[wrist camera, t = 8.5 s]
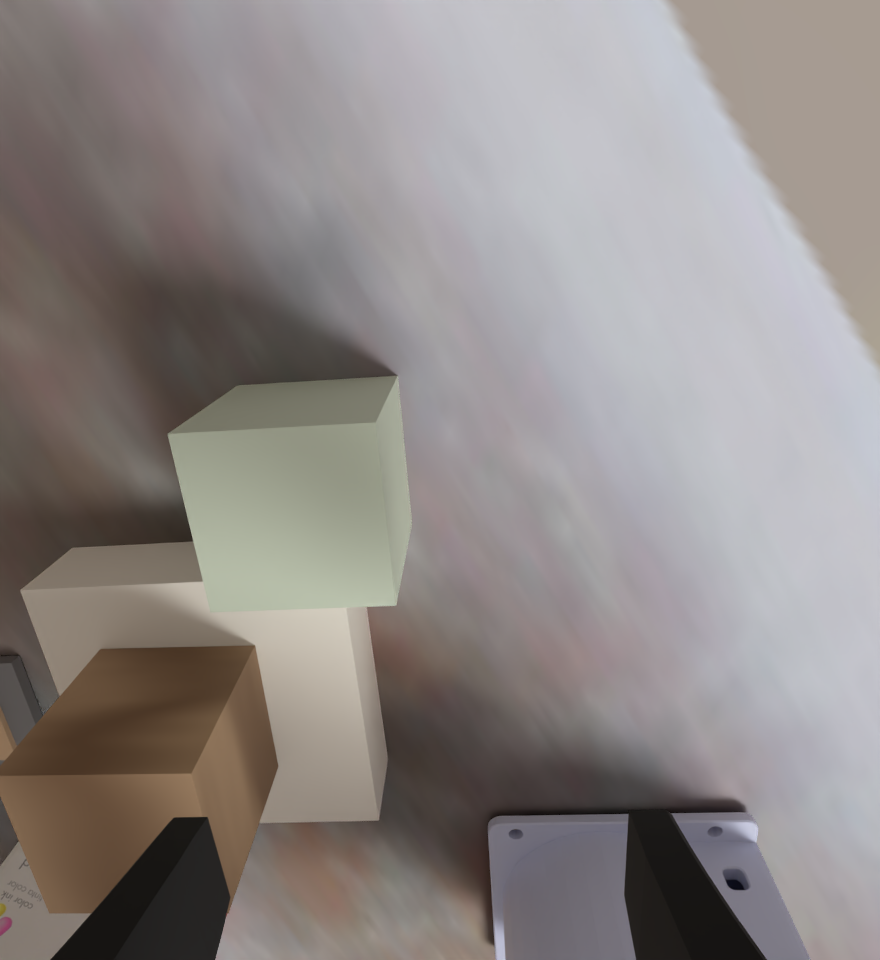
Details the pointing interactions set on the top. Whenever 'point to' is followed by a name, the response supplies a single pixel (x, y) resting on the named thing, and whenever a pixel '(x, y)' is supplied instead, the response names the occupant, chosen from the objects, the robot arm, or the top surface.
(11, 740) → the tile
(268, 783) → the walnut block
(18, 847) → the ink cartridge box
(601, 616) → the top surface
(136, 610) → the base block
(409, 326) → the top surface
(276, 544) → the sage block
